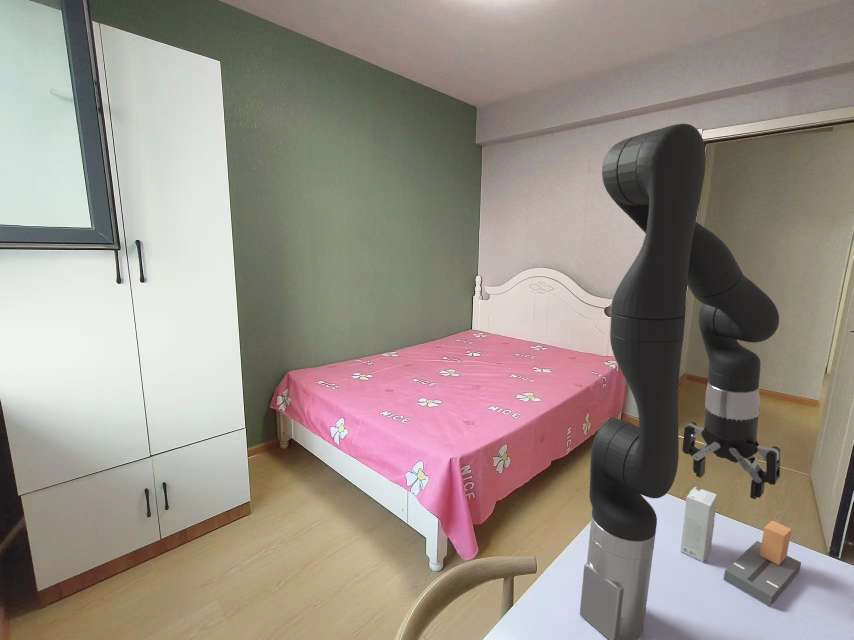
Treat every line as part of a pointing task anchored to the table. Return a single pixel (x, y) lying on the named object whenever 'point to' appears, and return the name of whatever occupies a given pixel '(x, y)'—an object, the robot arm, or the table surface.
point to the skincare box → (698, 523)
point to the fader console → (761, 574)
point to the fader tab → (775, 542)
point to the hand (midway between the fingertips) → (726, 485)
